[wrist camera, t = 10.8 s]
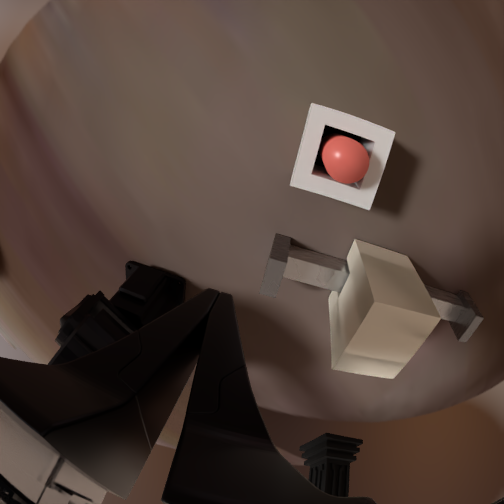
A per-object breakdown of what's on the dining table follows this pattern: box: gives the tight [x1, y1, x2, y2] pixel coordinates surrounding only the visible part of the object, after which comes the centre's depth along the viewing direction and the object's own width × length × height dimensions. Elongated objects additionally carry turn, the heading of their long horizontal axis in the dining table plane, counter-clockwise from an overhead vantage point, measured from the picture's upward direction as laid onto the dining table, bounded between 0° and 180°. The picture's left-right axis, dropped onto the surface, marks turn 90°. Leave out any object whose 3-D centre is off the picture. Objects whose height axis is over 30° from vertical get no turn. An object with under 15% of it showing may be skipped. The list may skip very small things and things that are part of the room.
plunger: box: [319, 133, 369, 184], centre depth 15 cm, size 2×2×5 cm
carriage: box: [328, 239, 441, 379], centre depth 18 cm, size 6×5×8 cm
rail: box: [259, 234, 484, 342], centre depth 20 cm, size 3×20×4 cm, turn 78°
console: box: [290, 103, 395, 210], centre depth 16 cm, size 5×5×4 cm
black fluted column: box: [300, 433, 363, 497], centre depth 29 cm, size 8×8×20 cm
